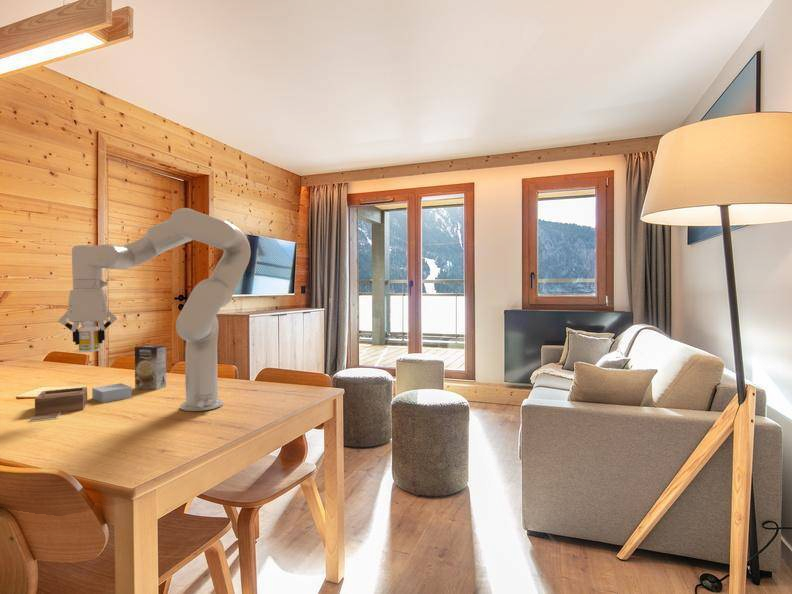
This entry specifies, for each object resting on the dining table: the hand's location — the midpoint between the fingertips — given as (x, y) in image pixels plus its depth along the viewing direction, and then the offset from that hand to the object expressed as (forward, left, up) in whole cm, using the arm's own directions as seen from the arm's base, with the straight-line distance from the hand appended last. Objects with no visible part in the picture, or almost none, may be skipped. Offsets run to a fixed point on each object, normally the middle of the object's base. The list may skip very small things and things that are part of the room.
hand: (89, 343), depth 140 cm
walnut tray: (+8, +8, -21) cm, 24 cm away
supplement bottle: (0, 0, -3) cm, 3 cm away
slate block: (+15, -5, -22) cm, 27 cm away
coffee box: (+26, -17, -21) cm, 38 cm away
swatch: (-2, +11, -21) cm, 24 cm away
